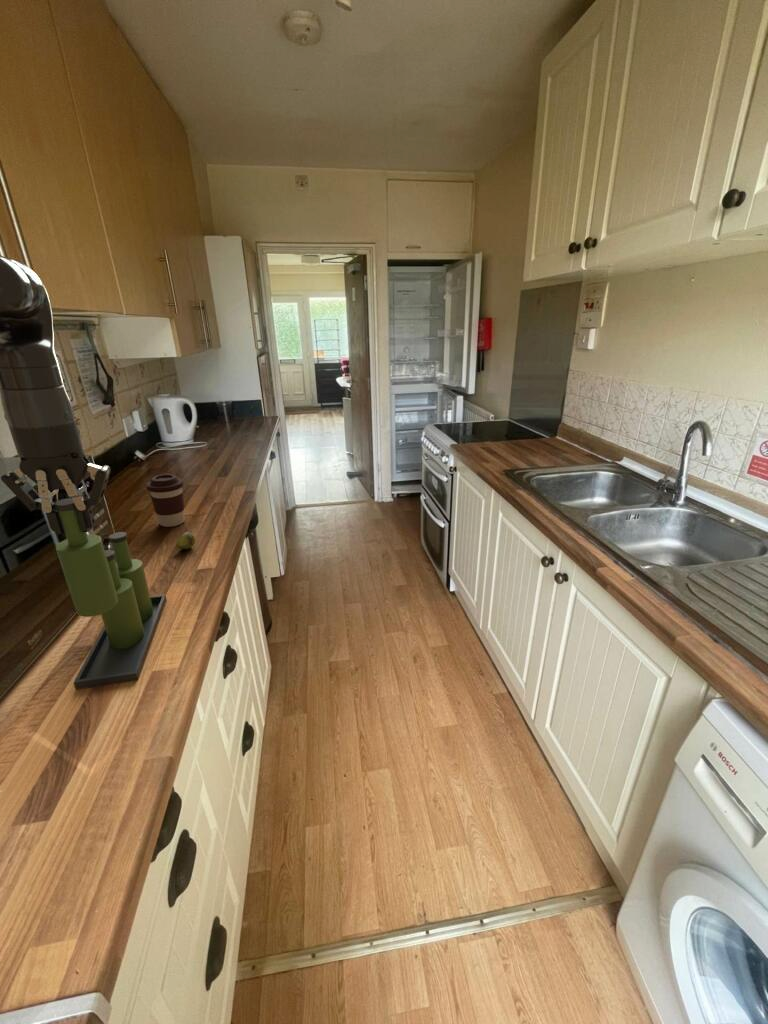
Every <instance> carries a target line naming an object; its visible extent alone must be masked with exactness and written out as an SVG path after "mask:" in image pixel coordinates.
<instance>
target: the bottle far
mask: <svg viewBox="0 0 768 1024" xmlns="http://www.w3.org/2000/svg"><path fill="white" fill-rule="evenodd" d="M108 540H109V543H111V547H112V550H113V551H114V553H115V562H116V566H117V569H118V573H119V577H120V578H125V579H129V580H131V581H132V585H133V589H134V593H135V597H136V601H137V605H138V609H139V613H140V617H141V621H142V622H143V621H145V620H147V619H148V618H150V617H151V616H152V614H153V612H154V611H153V606H152V602H151V598H150V596H151V595H150V590H149V586H148V582H147V581H148V580H147V577H146V573H145V569H144V564H143V562H142V560H140V559H137V558H136V559H135V558H132V555H131V552H130V548H129V544H128V534H127V532H125V531H118V532H114V533H113V532H112V533H110V535H109V536H108Z"/></svg>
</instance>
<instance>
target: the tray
mask: <svg viewBox="0 0 768 1024" xmlns="http://www.w3.org/2000/svg"><path fill="white" fill-rule="evenodd" d="M150 598H151V602H152V606H153V611H154V612H153V614H152V616H151V617H150V618H148V619H147V620H145V621H143V622H142V624H143V628H144V632H145V635H144V638H143V639H142V640H141V641H140V642H139V643H137V644H136V645H134V646H131V647H128V648H124V649H115V648H113V647H111V646H110V643H109V640H108V636H107V633H106V629H105V626H104V625H103V627H102V628H101V630H100V632H99V634H98V636H97V638H96V640H95V642H94V644H93V645H92V647H91V649H90V651H89V653H88V655H87V657H86V658H85V660H84V663H83V664H82V666H81V668H80V670H79V672H78V674H77V675H76V677H75V679H74V681H73V686H74V688H75V690H76V691H77V690H82V689H83V690H84V689H89V688H96V687H101V686H108V685H109V686H110V685H114V684H121V683H129V682H135V681H139V679H140V676H141V673H142V671H143V668H144V666H145V663H146V660H147V657H148V654H149V651H150V649H151V645H152V643H153V640H154V638H155V635H156V631H157V629H158V626H159V623H160V620H161V618H162V615H163V612H164V609H165V607H166V603H167V600H168V599H167V595H166V594H160V595H158V594H157V595H152V596H151V595H150Z"/></svg>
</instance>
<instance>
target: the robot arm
mask: <svg viewBox="0 0 768 1024" xmlns="http://www.w3.org/2000/svg"><path fill="white" fill-rule="evenodd" d="M49 298H50V297H49V294H48V292H47V289H46V286H45V285H44V283H43V281H42V279H41V278H40V277H39V275H38V274H37V273H36V272H35V271H34V270H33V269H32V268H31V267H30V266H28V265H27V264H26V263H23V262H21V261H19V260H17V259H15V258H10V257H7V256H3V255H0V402H1V407H2V410H3V411H2V412H3V413H4V418H5V421H6V423H7V426H8V428H9V432H10V436H11V439H12V441H13V445H14V448H15V450H16V453H17V455H18V457H19V459H20V461H19V464H18V468H16V469H11V470H9V471H7V472H6V473H4V474H3V475H1V476H0V480H1V481H2V482H3V484H5V486H6V487H7V488H8V489H9V490H10V491H11V492H12V493H13V495H15V497H17V499H18V500H19V501H20V502H21V503H22V504H23V505H24V506H25V507H26V508H27V509H28V510H30V511H35V510H38V511H42V512H43V513H45V516H46V518H47V522H48V525H49V528H50V530H51V531H52V532H55V534H56V535H63V534H65V531H64V528H63V525H62V521H61V518H60V515H59V512H58V511H57V510H56V508H55V504H54V503H55V502H57V501H59V490H65V491H66V493H67V495H68V498H72V500H73V502H74V504H75V506H76V508H77V509H78V510H77V515H78V518H79V522H80V525H81V529H82V532H86V533H89V532H90V531H91V530H92V529H93V528H94V526H95V524H96V518H95V516H94V511H93V507H95V506H97V505H98V504H99V503H100V502H101V501H102V500H103V499H104V497H105V492H106V489H107V487H108V481H109V478H110V475H111V470H112V469H111V467H110V466H109V465H106V464H105V465H102V466H101V465H98V464H94V463H91V462H90V460H89V458H88V457H87V456H86V455H85V454H84V453H85V452H84V448H83V444H82V443H83V442H82V440H81V436H80V433H79V428H78V425H77V421H76V418H75V417H76V416H75V413H74V410H73V407H72V403H71V399H70V396H69V395H68V393H67V390H66V387H65V385H64V381H63V377H62V373H61V369H60V365H59V361H58V358H57V356H56V352H55V346H54V345H55V342H54V341H55V336H54V326H53V325H54V324H53V323H54V322H53V312H52V307H51V302H50V299H49ZM87 473H89V475H90V479H91V480H92V481H93V484H92V487H91V491H90V495H89V493H88V491H87V489H88V488H87V485H86V483H85V481H84V478H85V476H86V474H87ZM28 478H29V479H30V480H31V481H32V482H34V483H35V484H36V485H37V490H36V489H35V488H34V487H33V486H32V484H31V483H30V482H29V481H28V480H29V479H28Z"/></svg>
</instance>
